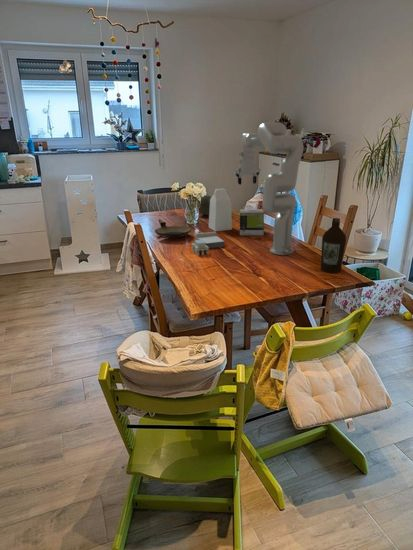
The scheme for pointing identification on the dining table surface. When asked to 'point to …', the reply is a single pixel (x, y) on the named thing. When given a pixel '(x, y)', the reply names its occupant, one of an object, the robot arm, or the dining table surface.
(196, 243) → the tote
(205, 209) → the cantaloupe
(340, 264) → the olive oil
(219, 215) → the milk
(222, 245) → the dock
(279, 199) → the robot arm
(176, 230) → the oil lamp
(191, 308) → the dining table surface
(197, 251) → the pallet
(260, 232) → the tea box
